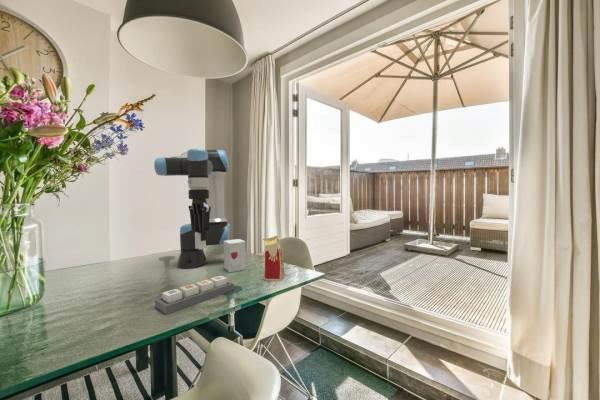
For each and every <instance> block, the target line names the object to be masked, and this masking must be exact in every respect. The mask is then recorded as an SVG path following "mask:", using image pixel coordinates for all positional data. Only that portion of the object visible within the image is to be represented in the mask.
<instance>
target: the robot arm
mask: <svg viewBox="0 0 600 400" xmlns="http://www.w3.org/2000/svg"><path fill="white" fill-rule="evenodd" d="M228 159H229V158H228V156H227V152H226V151H225V150H223V149H203V148H189V149H188V150H187V151H185V152H182V153H181V154H180V155H176V156H171V157H166V156H165V157H164V156H163V157H156V158H155V159H154V163H153V165H154V171H155V173H156V175H157V176H163V177H168V176H170V177H171V176H187V181H186V182H187V185H188V187H187V188H188V190H187V191H188V193H187V194H188V199H189V200H191V205H188V210H189V218H190V223H187V224H183V225H181V226H180V227H179V244H180V245H179V246H180V253H179V257H178V260H177V268H179V269H185V270H186V269H194V268H195V269H196V268H200V267H203V266H206V265H207V264H208V259H207V257H206V255H205V251H204V249H205V250H206V249H207V246H222V245H223V246H224V241H226V240H230V234H231V233H230V232H231V224H230V223H228V220H227V219H226V217H225V185H224V184H225V181H224V180H225V179H224V177H225V176H226V174H227V171H229V170H230V167H229V160H228ZM207 201H208V203H207Z"/></svg>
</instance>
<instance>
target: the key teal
mask: <svg viewBox="0 0 600 400" xmlns="http://www.w3.org/2000/svg"><path fill="white" fill-rule="evenodd" d="M161 294H162V295H161V296H162V297H163V300H164V301H165V302H167V303H171V302H174V301H177V300H181V299H182V291H180V289H178V288H174V289H170V290H167V291H163V292H161Z"/></svg>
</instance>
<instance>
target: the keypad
mask: <svg viewBox="0 0 600 400" xmlns="http://www.w3.org/2000/svg"><path fill="white" fill-rule="evenodd" d="M232 290H233V291H235V284H234V282H231V281H229V280H227V284H226V285H223V286H220V287H217V288H216V287H214V286H213V289H211V290H208V291H205V292H200V291H199V294H196V295H193V296H190V297H187V298H186V297H184V296H182V299H181V300H177V301H174V302H171V303H167V302H165V301H164V300H163V296H161V297H158V298H156V299H154V307H155V308H156V309H157V310H158V311H160V312H162V313H163V314H164V315H168V314H169V315H170V314H171V313H174V312H177V311H180V310H183V309H185V308H188V307H192V306H194V305H197V304H201V303H202V302H205V301H207V300H211V299H213V298H216V297H219V296H222V295H224V293H225V294H227V292H228V293H230V292H233V291H232ZM229 291H230V292H229Z"/></svg>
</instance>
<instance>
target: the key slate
mask: <svg viewBox="0 0 600 400" xmlns="http://www.w3.org/2000/svg"><path fill="white" fill-rule="evenodd" d="M209 281H212V282H213V286H214V287H216V288H217V287H220V286H223V285H226V284H227V281H228V278H227V277H226V276H223V275H217V276H213V277H211V278H210V279H209Z"/></svg>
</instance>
